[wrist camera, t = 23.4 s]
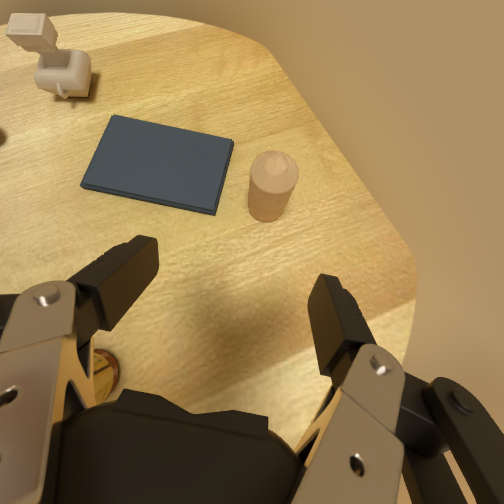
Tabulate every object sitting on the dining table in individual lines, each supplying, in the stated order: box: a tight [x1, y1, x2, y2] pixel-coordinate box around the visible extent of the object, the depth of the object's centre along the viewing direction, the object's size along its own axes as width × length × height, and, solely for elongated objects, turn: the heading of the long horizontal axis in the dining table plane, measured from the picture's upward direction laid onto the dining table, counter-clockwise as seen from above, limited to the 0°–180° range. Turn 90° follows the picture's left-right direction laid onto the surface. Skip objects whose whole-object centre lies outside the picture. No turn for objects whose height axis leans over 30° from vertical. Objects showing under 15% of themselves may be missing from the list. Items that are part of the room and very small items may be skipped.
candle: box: [248, 151, 299, 222], centre depth 26 cm, size 6×6×10 cm
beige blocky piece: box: [5, 13, 91, 99], centre depth 30 cm, size 9×7×8 cm
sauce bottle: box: [93, 350, 118, 405], centre depth 15 cm, size 6×6×20 cm
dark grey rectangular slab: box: [80, 115, 234, 216], centre depth 31 cm, size 20×13×1 cm, turn 79°
